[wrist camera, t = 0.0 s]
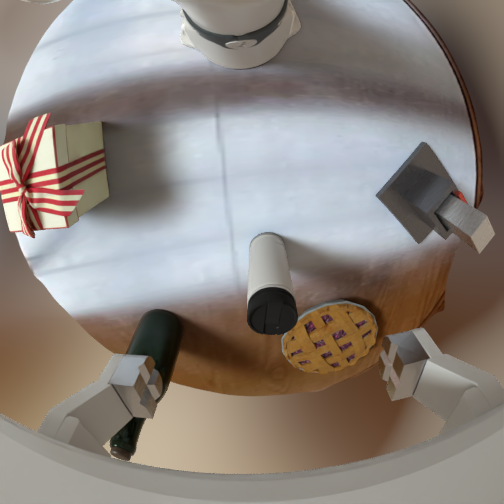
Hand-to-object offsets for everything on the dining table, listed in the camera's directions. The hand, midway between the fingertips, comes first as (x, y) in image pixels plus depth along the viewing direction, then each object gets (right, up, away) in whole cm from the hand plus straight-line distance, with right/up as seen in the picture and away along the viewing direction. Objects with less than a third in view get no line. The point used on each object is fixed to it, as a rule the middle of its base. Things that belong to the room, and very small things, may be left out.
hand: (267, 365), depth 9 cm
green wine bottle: (-21, -13, +51) cm, 56 cm away
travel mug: (+2, +5, +41) cm, 42 cm away
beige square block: (+31, +14, +34) cm, 48 cm away
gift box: (-32, +21, +34) cm, 51 cm away
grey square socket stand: (+31, +15, +36) cm, 50 cm away
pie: (+17, -14, +51) cm, 56 cm away
